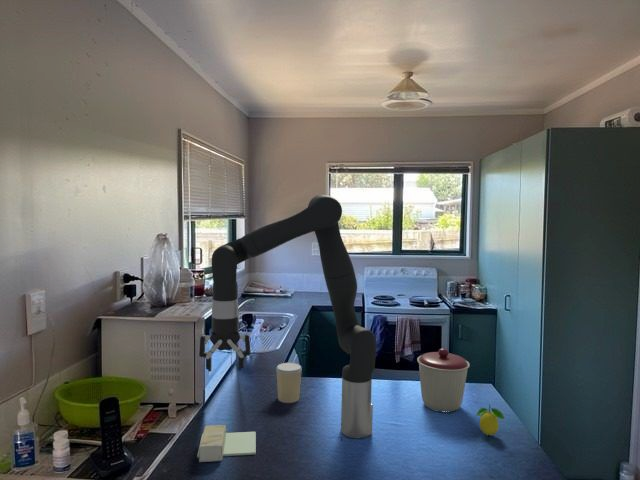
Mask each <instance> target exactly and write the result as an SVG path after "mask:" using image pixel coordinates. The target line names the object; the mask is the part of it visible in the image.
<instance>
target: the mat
mask: <svg viewBox="0 0 640 480" xmlns="http://www.w3.org/2000/svg"><path fill="white" fill-rule="evenodd" d="M256 435H257V433H256V431H242V432H241V431H240V432H237V431H236V432H226V440H225V446H224V452H223V457H231V456H247V455H248V456H250V455H257V454H256V453H257V452H256V451H257V449H256V447H257V445H256V444H257V443H256V442H257V440H256V439H257V437H256ZM202 436H203V433H202V434H201V438H200V442H199V444H200V443H201V440H202ZM199 447H200V445H199V446H198V448H199ZM196 458H198V459H199V449H198V450H197V455H196Z"/></svg>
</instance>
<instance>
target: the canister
mask: <svg viewBox="0 0 640 480" xmlns="http://www.w3.org/2000/svg"><path fill="white" fill-rule="evenodd" d="M416 360H417V363H418V369H419V381H420V392H421V400H422V402H423V403H424V405H425V406H426V407H427V408H428V407H429V408H428V409H430V408H431V409H430V410H432V409H433V410H432V411H434V410H437V411H436V412H439V411H445V412H444V413H449V412H448V411H454V412H456V411H458V410H459V409H460V408H461V406H462V404H463V399H464V395H465V387H466V381H467V375H468V369H469V368H470V366H471V365H470V362H469V361H467V360H466V358H464V357H462V356H461V355H457V354H453V353H449V350H448V349H447V348H444V347H442V348H439V349H438V351H430V352H426V353H423V354H421V355H419V356H418V357H417V359H416ZM457 409H458V410H457ZM455 410H456V411H455ZM446 411H447V412H446Z"/></svg>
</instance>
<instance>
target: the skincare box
mask: <svg viewBox="0 0 640 480" xmlns="http://www.w3.org/2000/svg"><path fill="white" fill-rule="evenodd" d="M226 433H227V426H226V424H222V425H221V424H217V425H215V424H214V425H213V424H212V425H211V424H210V425H205V426H204V429H203V433H202V434H203V436H202V435H201V437H202V440H201V439H200V442H201V443H200V442H199V446H200V447H199V446H198V450H199V458H198V461H199V463H206V462H211V463H212V462H221V461H223V458H224V456H223V452H224V446H225V440H226Z"/></svg>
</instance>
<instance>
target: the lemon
mask: <svg viewBox="0 0 640 480" xmlns="http://www.w3.org/2000/svg"><path fill="white" fill-rule="evenodd" d="M476 416H480V418H479V429H480V431H481V432H482V433H484V434H485V435H487V434H488V435H490V436H493V435H496V434H497V432H498V431H499V420H498V419H500V420H505V416H504V414H503V413H502V411H501V410H499V409H498V408H492V407H491V404H488V408H484V407H482V408H480V409H479V410H478V411H477V413H476ZM488 435H487V436H488Z"/></svg>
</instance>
